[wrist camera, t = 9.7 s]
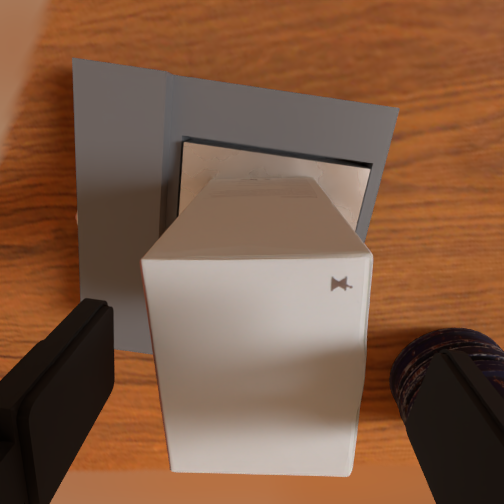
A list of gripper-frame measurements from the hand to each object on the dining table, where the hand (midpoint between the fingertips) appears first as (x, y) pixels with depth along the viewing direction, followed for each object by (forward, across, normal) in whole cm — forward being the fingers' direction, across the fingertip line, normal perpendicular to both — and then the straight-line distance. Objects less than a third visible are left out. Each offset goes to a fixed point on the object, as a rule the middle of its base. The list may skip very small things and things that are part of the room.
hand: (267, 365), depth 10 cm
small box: (+13, 0, +1) cm, 13 cm away
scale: (+17, +3, +1) cm, 17 cm away
